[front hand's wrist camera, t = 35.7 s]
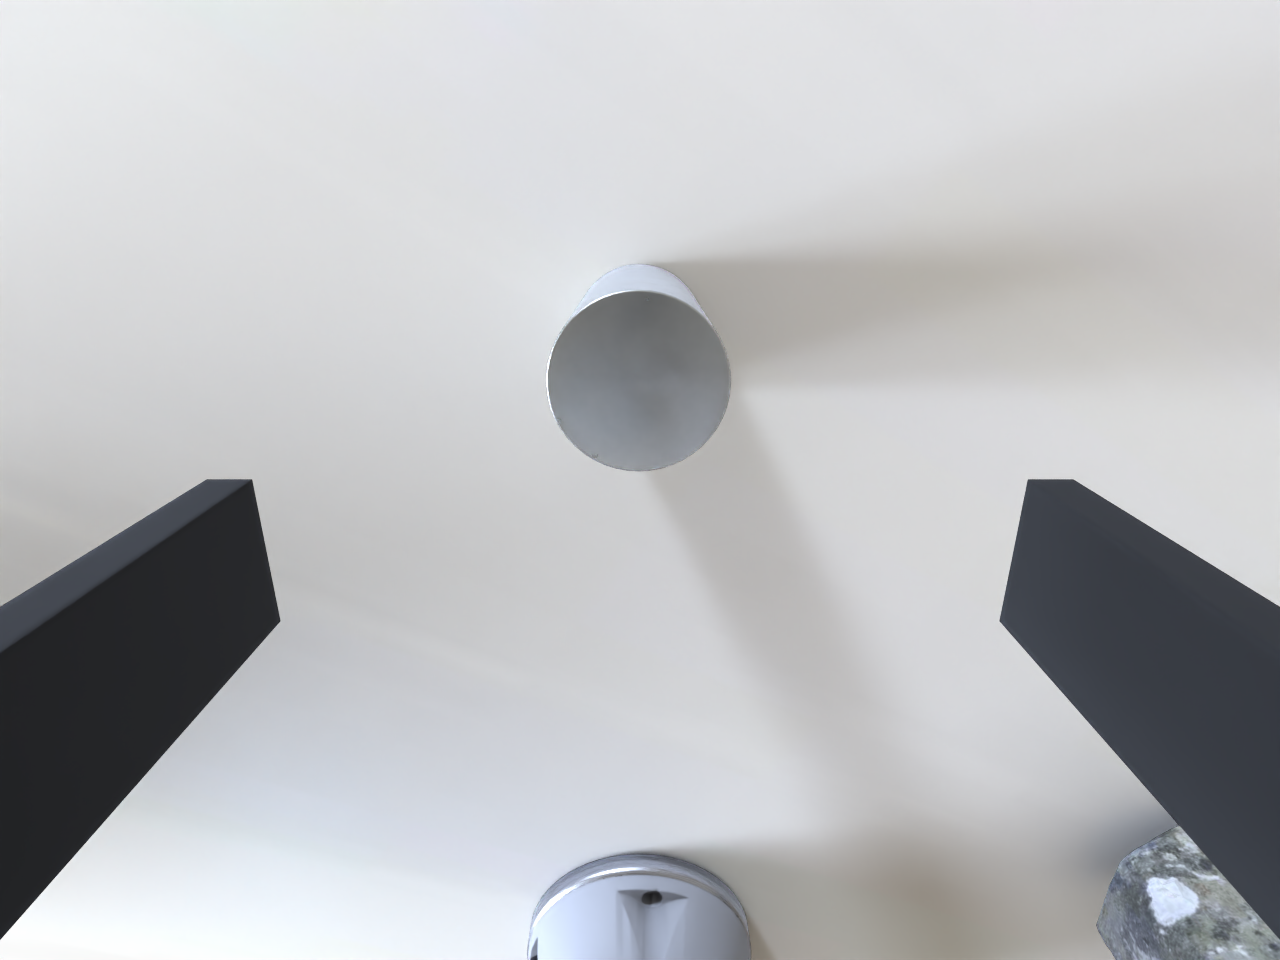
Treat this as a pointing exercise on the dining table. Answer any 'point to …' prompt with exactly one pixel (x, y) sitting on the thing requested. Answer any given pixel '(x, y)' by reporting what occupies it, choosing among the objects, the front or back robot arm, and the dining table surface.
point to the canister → (638, 371)
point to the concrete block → (1179, 908)
